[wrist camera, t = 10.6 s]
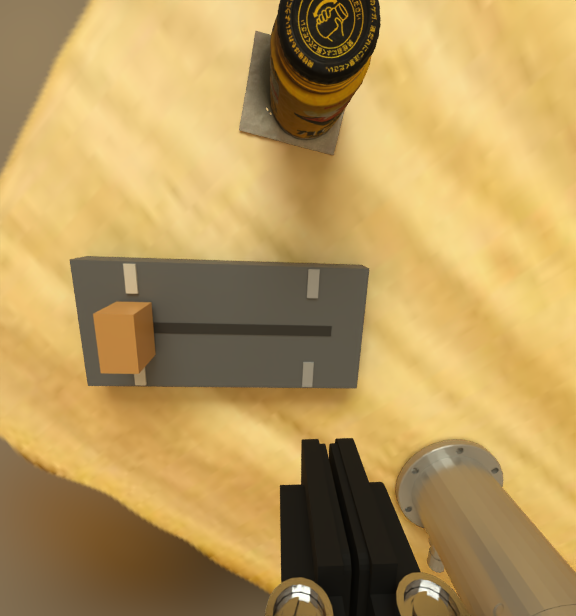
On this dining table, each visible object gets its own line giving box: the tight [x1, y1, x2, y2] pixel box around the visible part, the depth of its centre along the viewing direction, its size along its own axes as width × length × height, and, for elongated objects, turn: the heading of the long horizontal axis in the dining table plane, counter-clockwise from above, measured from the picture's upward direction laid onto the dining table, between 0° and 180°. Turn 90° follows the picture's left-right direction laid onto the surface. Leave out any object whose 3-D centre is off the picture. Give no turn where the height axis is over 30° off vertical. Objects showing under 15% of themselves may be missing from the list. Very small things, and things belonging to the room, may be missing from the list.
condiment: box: [239, 0, 380, 155], centre depth 21 cm, size 7×8×12 cm
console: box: [70, 256, 369, 388], centre depth 31 cm, size 26×12×3 cm, turn 88°
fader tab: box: [93, 302, 156, 374], centre depth 27 cm, size 3×5×4 cm, turn 178°
